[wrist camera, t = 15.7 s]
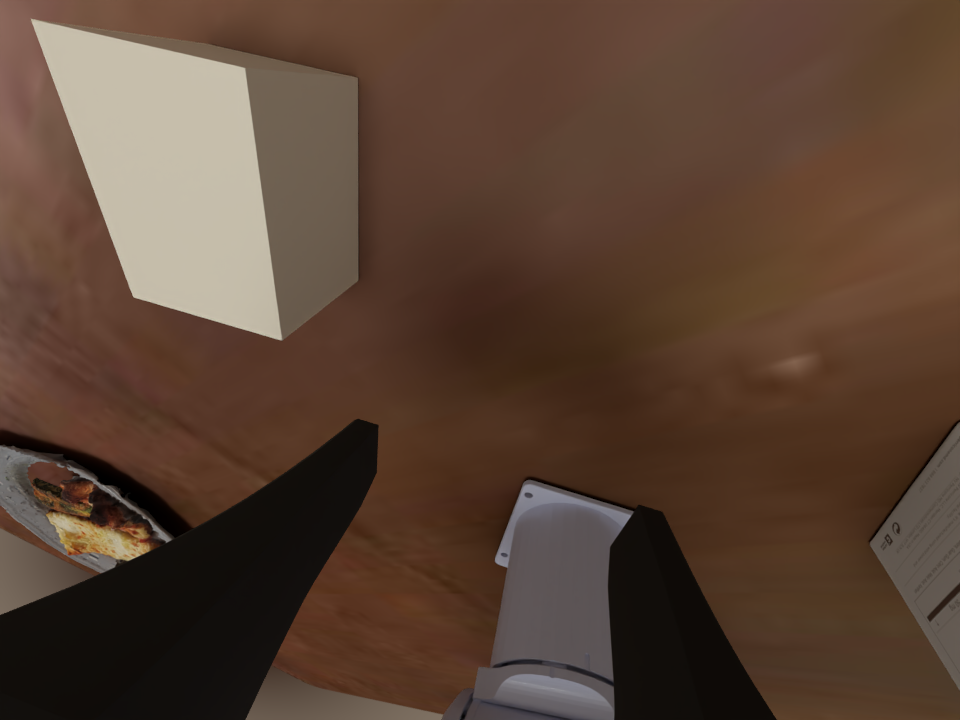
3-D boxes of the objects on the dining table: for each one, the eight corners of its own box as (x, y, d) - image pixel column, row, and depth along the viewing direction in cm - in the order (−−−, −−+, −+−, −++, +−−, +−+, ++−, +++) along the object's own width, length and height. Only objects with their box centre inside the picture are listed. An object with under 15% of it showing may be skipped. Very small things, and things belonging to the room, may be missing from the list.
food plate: (170, 475, 34) (131, 509, 32) (238, 600, 48) (215, 632, 45) (-49, 404, 38) (-101, 429, 35) (71, 538, 52) (40, 564, 49)
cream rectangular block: (358, 280, 19) (282, 340, 15) (243, 249, 20) (133, 297, 15) (357, 77, 15) (245, 68, 10) (207, 43, 15) (30, 18, 10)
